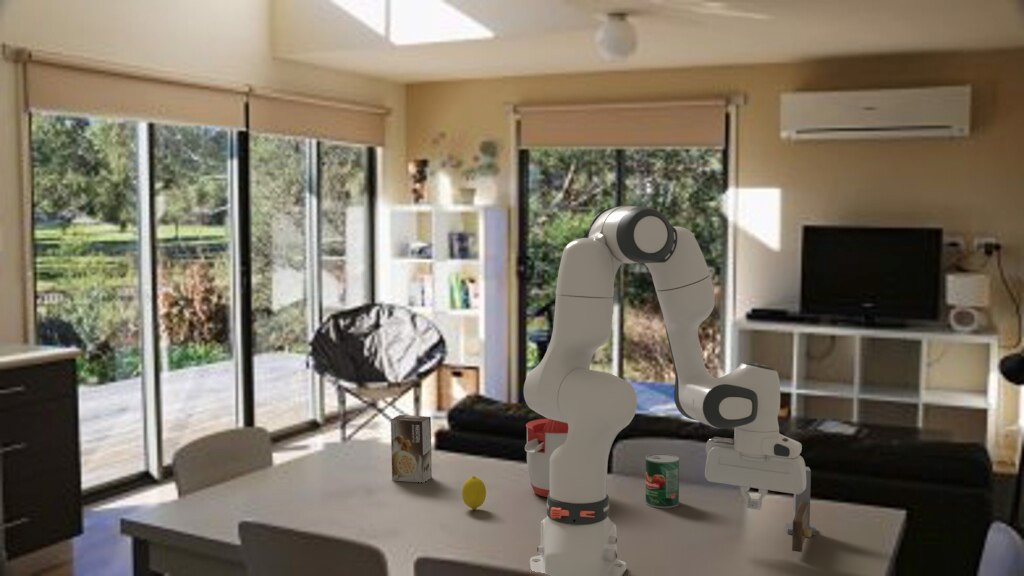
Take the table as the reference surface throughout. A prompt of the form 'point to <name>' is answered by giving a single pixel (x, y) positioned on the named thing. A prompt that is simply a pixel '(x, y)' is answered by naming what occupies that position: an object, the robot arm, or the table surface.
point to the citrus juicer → (543, 451)
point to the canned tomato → (662, 480)
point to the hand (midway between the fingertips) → (753, 508)
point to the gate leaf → (800, 527)
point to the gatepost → (802, 498)
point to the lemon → (473, 492)
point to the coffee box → (411, 448)
